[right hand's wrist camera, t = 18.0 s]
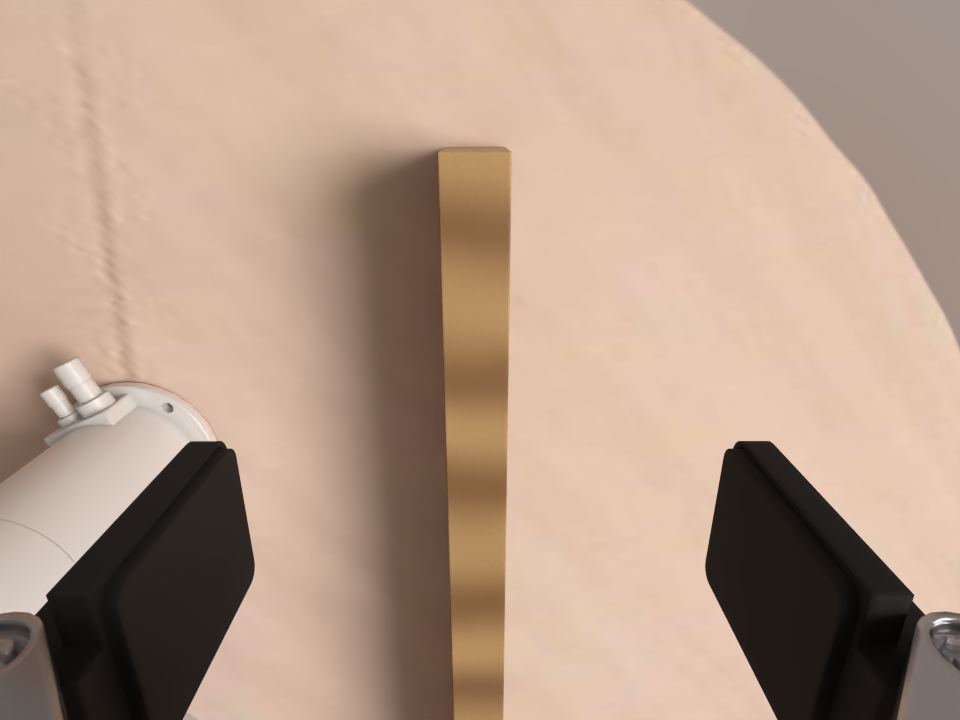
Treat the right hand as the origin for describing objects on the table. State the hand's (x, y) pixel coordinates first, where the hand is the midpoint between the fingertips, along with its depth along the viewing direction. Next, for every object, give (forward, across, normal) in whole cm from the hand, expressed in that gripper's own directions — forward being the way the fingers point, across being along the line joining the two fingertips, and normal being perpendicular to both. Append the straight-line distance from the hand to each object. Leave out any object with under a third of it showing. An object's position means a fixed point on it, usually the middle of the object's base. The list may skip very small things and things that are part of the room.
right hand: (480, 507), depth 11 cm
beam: (+34, 0, -27) cm, 43 cm away
